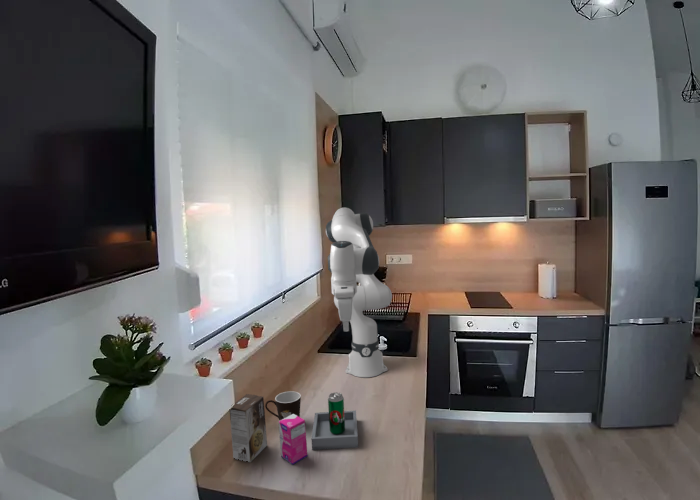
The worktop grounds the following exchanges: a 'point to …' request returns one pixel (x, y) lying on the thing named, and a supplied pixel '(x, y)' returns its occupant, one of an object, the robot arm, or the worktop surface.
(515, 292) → the worktop surface
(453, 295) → the worktop surface
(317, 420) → the tray
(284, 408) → the coffee mug
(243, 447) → the coffee box
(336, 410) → the soda can
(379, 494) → the worktop surface
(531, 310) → the worktop surface
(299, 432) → the supplement box
